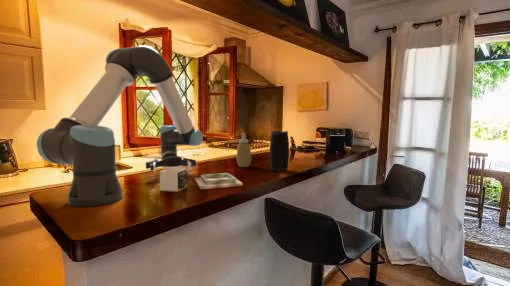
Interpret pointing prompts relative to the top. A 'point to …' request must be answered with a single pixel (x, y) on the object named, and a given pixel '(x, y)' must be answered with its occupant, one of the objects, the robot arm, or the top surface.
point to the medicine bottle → (173, 175)
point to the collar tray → (217, 181)
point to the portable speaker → (279, 151)
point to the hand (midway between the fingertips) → (172, 167)
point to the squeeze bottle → (243, 152)
